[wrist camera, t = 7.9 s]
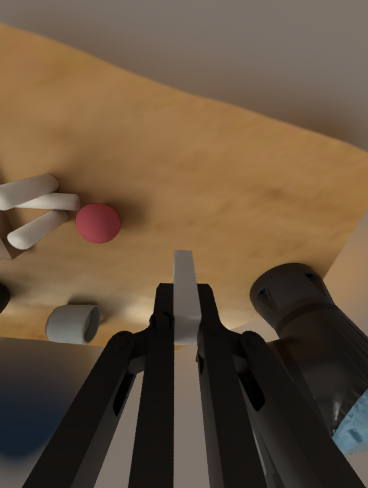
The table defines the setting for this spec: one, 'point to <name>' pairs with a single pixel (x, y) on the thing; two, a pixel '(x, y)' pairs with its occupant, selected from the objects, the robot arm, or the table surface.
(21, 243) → the pin
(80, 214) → the ball
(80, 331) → the ceramic mug
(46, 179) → the pin
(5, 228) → the back rail
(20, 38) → the table surface
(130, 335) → the robot arm
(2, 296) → the cola bottle
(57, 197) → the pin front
